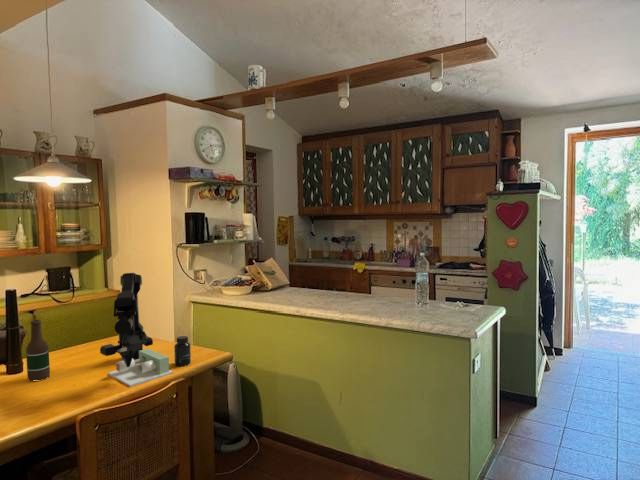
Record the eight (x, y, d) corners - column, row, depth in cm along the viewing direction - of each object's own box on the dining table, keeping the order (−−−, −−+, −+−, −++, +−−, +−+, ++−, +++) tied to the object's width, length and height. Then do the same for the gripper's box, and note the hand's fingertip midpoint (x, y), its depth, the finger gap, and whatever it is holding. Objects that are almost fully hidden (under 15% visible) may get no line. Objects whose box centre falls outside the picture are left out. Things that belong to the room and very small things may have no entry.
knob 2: (165, 364, 187) (165, 355, 187) (170, 366, 185) (170, 356, 184) (137, 372, 178) (137, 362, 178) (142, 374, 175) (141, 365, 175)
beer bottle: (54, 375, 181) (51, 318, 179) (37, 382, 173) (33, 323, 172) (40, 373, 183) (37, 317, 182) (22, 380, 176) (19, 322, 174)
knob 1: (144, 362, 190) (143, 353, 189) (148, 364, 187) (148, 355, 187) (115, 370, 180) (114, 361, 180) (119, 373, 178) (119, 363, 177)
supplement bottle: (186, 367, 189) (185, 339, 188) (171, 366, 191) (170, 339, 190) (193, 361, 196) (192, 335, 195) (179, 360, 197) (178, 334, 196)
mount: (107, 374, 182) (107, 358, 181) (149, 362, 195) (148, 347, 195) (130, 386, 168) (129, 369, 168) (172, 373, 182) (172, 357, 181)
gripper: (111, 337, 160) (113, 378, 161) (159, 326, 174) (160, 364, 175) (98, 331, 167) (100, 371, 168) (145, 322, 181) (146, 358, 182)
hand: (128, 366), depth 173 cm, fingers closed
